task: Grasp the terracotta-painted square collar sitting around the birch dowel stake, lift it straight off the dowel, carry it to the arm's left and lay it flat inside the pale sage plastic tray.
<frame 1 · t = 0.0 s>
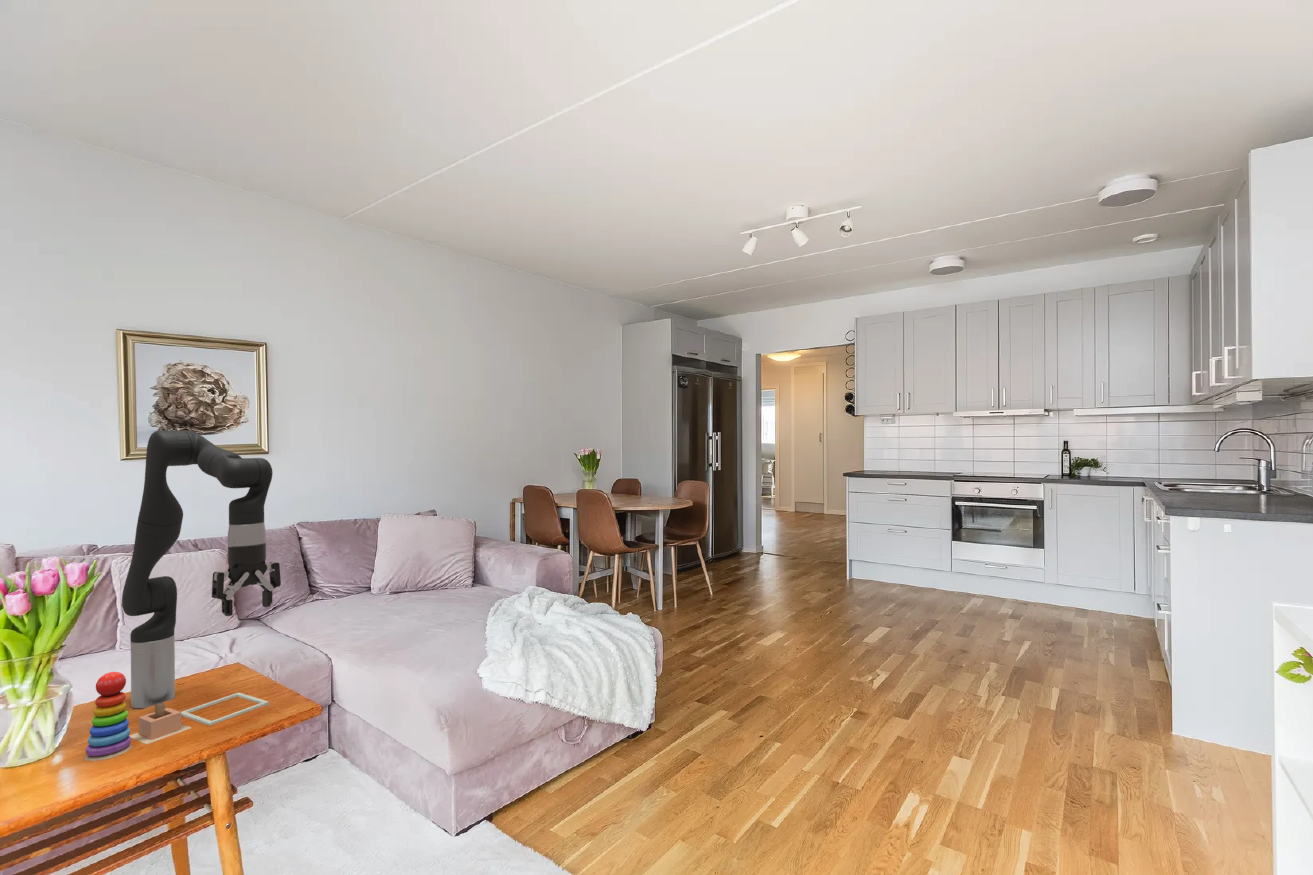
hand: (247, 611, 146), 29 cm above the table, fingers open, 8 cm apart
tray: (224, 714, 158), on the table
stake: (160, 738, 146), on the table
stacking toy: (108, 759, 136), on the table
collar: (160, 731, 146), point 1 cm above the table, touching stake
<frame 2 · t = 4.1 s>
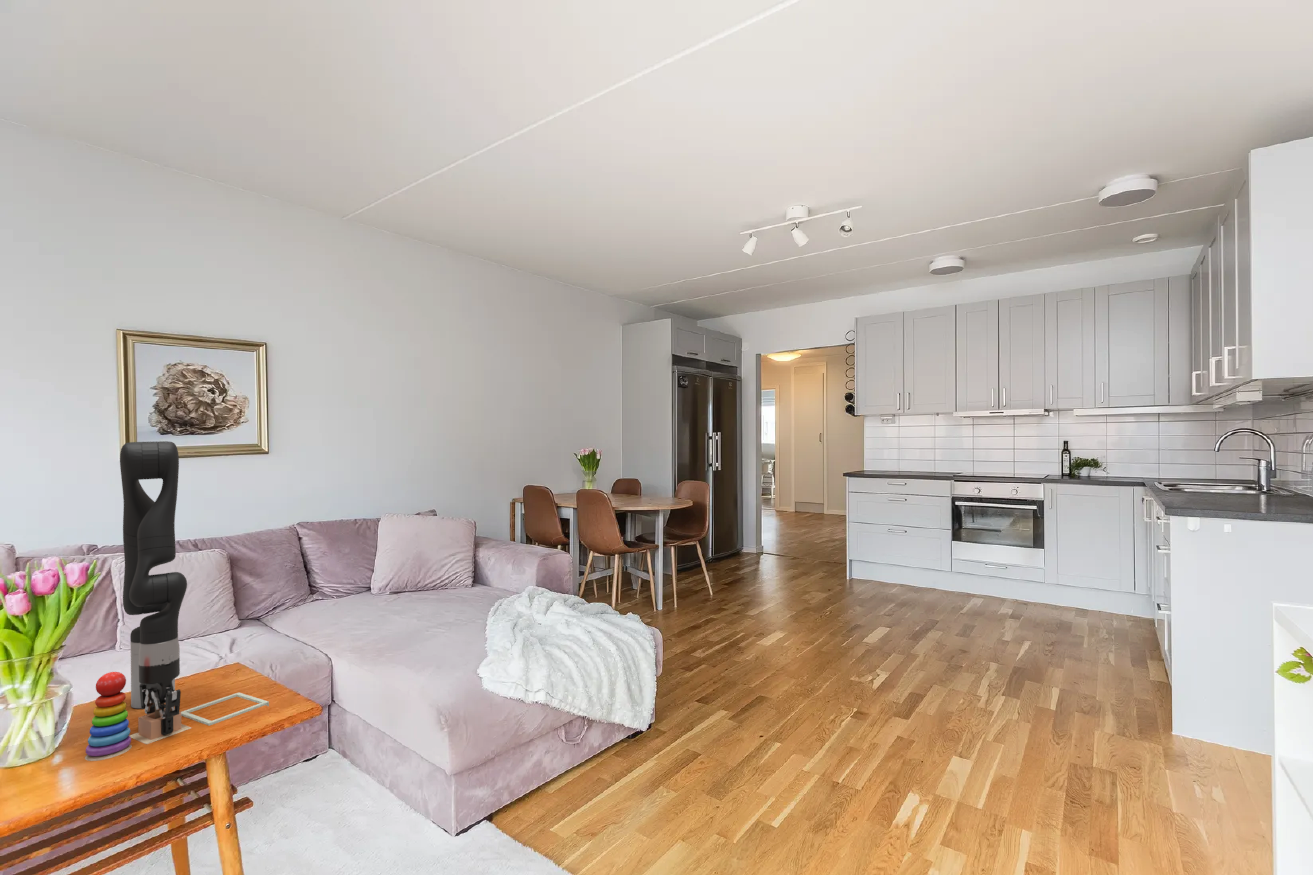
hand: (160, 730, 146), 2 cm above the table, fingers closed on collar, 6 cm apart
collar: (160, 731, 146), point 2 cm above the table, touching gripper, stake
everything else where it was.
when the fingers open (3 cm above the table, at t = 10.4 s): collar drops 2 cm, resting on tray.
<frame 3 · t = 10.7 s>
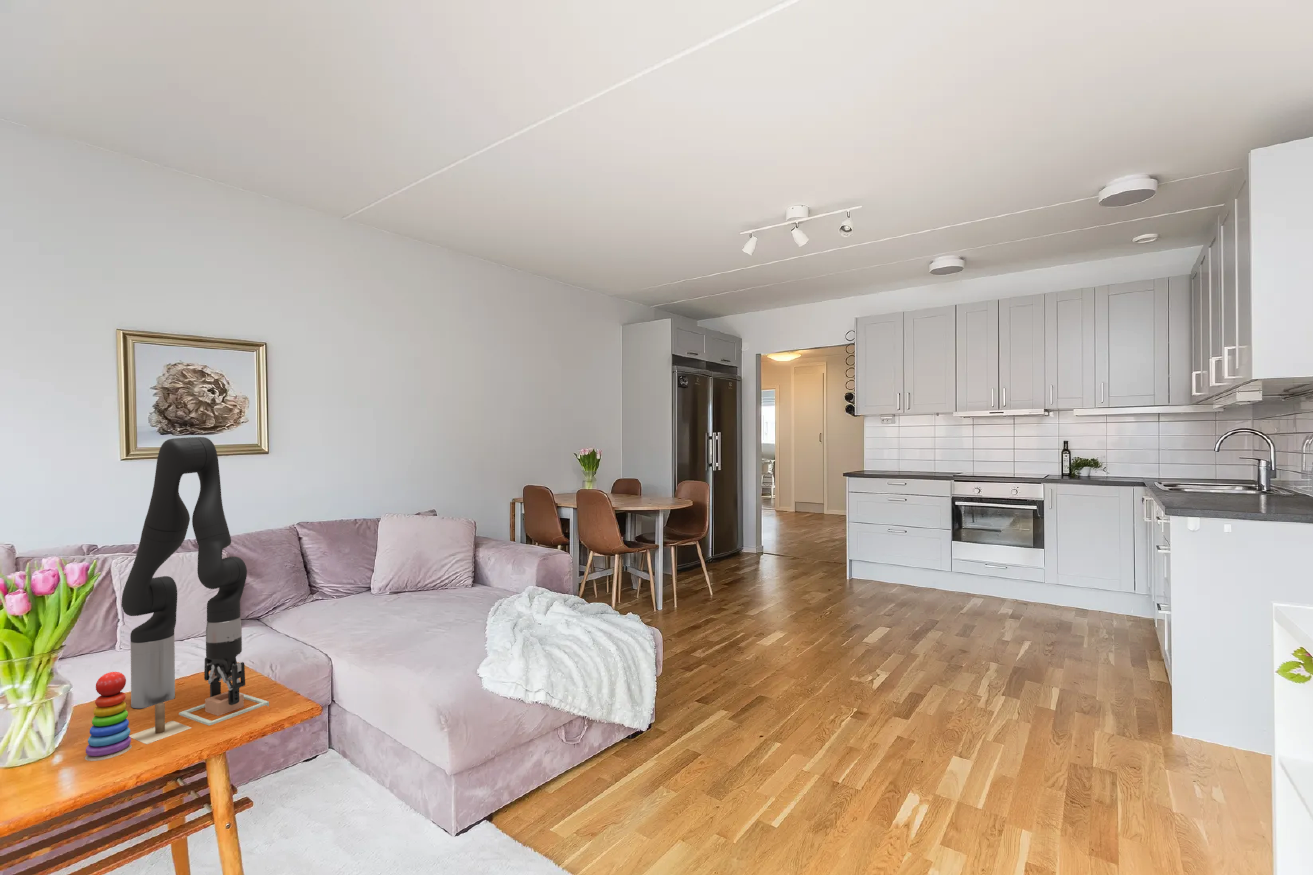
hand: (224, 700, 158), 4 cm above the table, fingers open, 8 cm apart
collar: (224, 712, 158), point 1 cm above the table, touching tray
everything else where it was.
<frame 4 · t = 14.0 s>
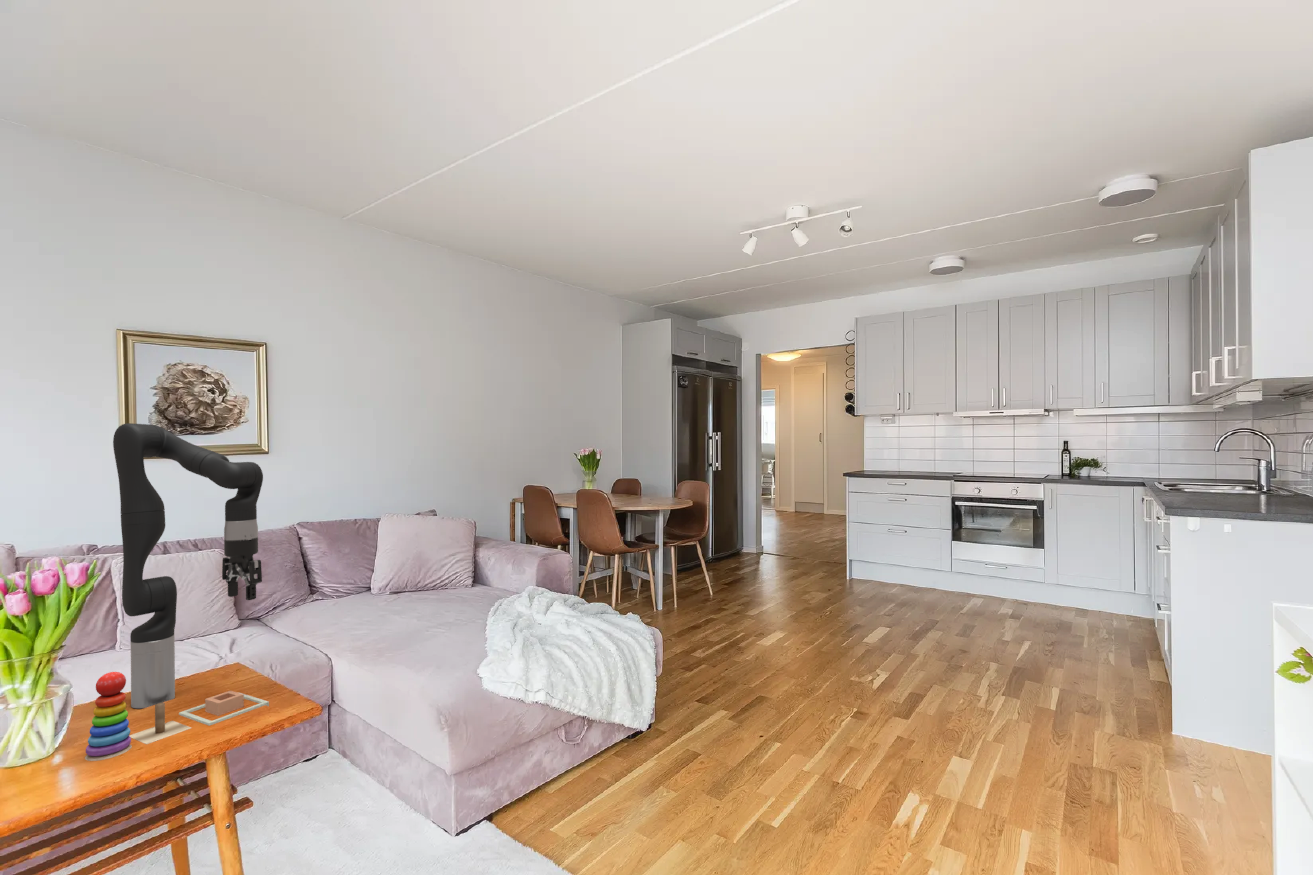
hand: (241, 597, 165), 28 cm above the table, fingers open, 8 cm apart
nothing on the table moved.
at the end: collar inside the target area on the tray (0.0 cm from its centre), point 0.6 cm above the tray's base; collar tilted 0°; the gripper is holding nothing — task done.
